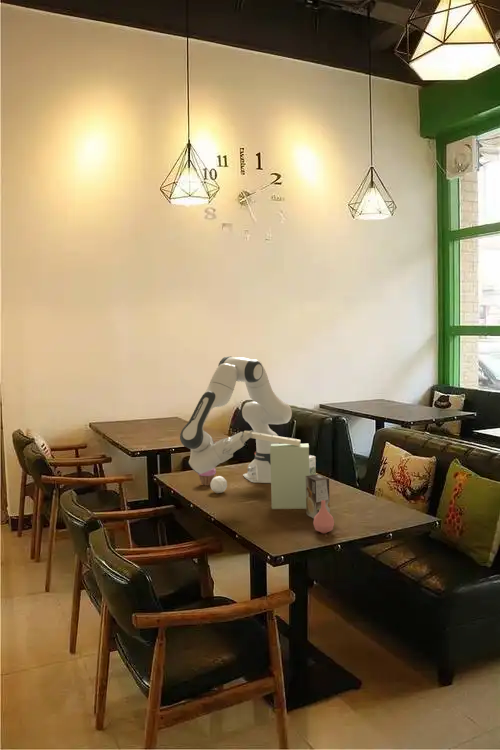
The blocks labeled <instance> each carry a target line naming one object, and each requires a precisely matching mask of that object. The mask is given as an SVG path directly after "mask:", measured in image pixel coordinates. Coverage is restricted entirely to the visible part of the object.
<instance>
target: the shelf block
mask: <svg viewBox="0 0 500 750" xmlns="http://www.w3.org/2000/svg"><path fill="white" fill-rule="evenodd" d="M309 444H310V443H300V446H295V445H289V444H283V443H279V444H271V446H270V460H271V483H270V488H271V489H270V492H271V509H272V510H282V509H284V510H286V509H287V510H289V509H290V510H292V509H293V510H295V509H299V510H301V509H303V510H306V477H305V476H309V455H310V445H309Z"/></svg>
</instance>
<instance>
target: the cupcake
mask: <svg viewBox="0 0 500 750" xmlns="http://www.w3.org/2000/svg"><path fill="white" fill-rule="evenodd" d="M216 473H217V469H216V468H213V469H211V470H209V471H207V472H205V473H202V474H199V473H197V475H198V477H199V480H200V482H201V485H203V486H206V485H207V486H211V485H210V483H211V481H212V479H213V478H214V477H215V475H216Z"/></svg>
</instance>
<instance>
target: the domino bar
mask: <svg viewBox="0 0 500 750" xmlns="http://www.w3.org/2000/svg"><path fill="white" fill-rule="evenodd" d="M250 432H251V430H244V431H243V433H244V434H243V437H244V436H245V435H247V434H248V433H250ZM251 433H252V435H253V436H252V437H251V438H250V439H255V440H256V439H260V440H266V441H272V442H278V443H279V444H289V445H295V446H300V444H301V439H297V438H293V437H287V436H286V437H285V436H279V435H278V436H275V435H269V434H263V433H257V432H254V431H253V432H251Z"/></svg>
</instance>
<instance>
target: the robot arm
mask: <svg viewBox="0 0 500 750" xmlns="http://www.w3.org/2000/svg"><path fill="white" fill-rule="evenodd" d="M237 382H241V383H242V382H243V383H245V386H246V389H247V392H248V395H249V398H250V399H251V400H253V401H247V402H245V404H243V406H242V410H241V415H242V418H243V419H244V421H245V422H246V423H248V424H249V426H250V427H251V430H250V431H251V432H257V433H263V434H269V435H275V436H279V434H277V433H276V432H275V431H273V429H271V428H270V426H269V425H283V424H288V423H289V422H290V420H291V419H292V415H293V411H292V407H291V406H290V405H289V404H288V403H287V402H285V401H283V400H282V399H280V398H279V397H278V396H277V394H276V393H275V392H274V390H273V388H272V386H271V383H270V379H269V377H268V374H267V372H266V369H265V367H264V365H263V363H262V362H261V361H260V360H258V359H255V358H252V359H251V358H247V357H242V356H240V357H239V356H237V357H236V356H224V357H223V358H222V359H220V361H219V363H218V366H217V368H216V370H215V371H214V372H213V374H212V377H211V379H210V382H209V383H208V386H207V389H206V391H205V392H204V393H203V394H202V395H201V398H200V399H199V400H198V403H197V404H196V406H195V409H194V411H193V413H192V415H191V417H190V418H189V420H188V422H187V423H186V424H185V426H184V427H183V428H182V429H181V431H180V433H179V434H180V435H179V440H180V443H181V444H182V446H183V447H185V448H187V449H190V457H189V460H188V465H189V467H190V468H191V469H192V470H193V471H194V472H195V473H196V474H198V473H199V474H202V473H205V472H207V471H209V470H211V469H213V468H214V469H216V467H217V466H218V465H219V464H220V465H221V464H223V463H224V462H226V461H228V460H229V459H231V458H233V457H234V453H235V452H236V451H238V450H240V449H241V448H242V449H243V447H244V445H245V443H246V442H247V441H248V440H249V439H252V438H251V437H252V436H253V435H252V433H251V432H250V433H248V434H247V435H245V436H244V437H243V434H244V431H239V432H238V433H235V434H234V435H231V436H229V437H225V438H221V439H220V440H217V441H216V442H214V440H213V437H212V436H211V434H209V433H208V432H207V431H205V430H204V425H205V424H206V421H207V420H208V417H209V414H210V413H211V411H212V410H213V409H215V408H220V407H223V406H226V405H227V404H229V402H230V400H231V398H232V396H233V392H234V390H235V386H236V383H237ZM255 443H256V445H255V446H256V451H254V459H253V460H252V461H251V462H250V463H248V465H247V469H246V471H247V472H246V473H243V474H242V477H243V476H244V477H243V478H245V479H246V480H248V481H249V482H251V483H255V484H256V483H258V484H259V483H262V484H271V460H270V446H271V444H280V443H278V442H272V441H266V440H260V439H255Z"/></svg>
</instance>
